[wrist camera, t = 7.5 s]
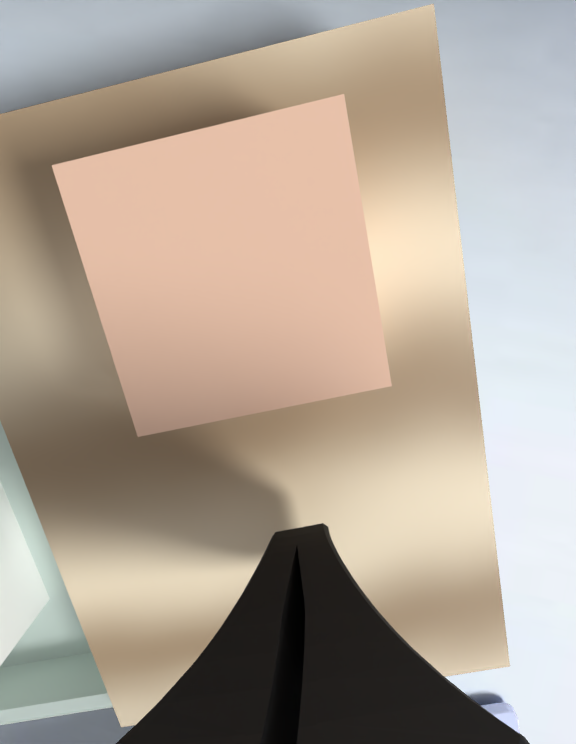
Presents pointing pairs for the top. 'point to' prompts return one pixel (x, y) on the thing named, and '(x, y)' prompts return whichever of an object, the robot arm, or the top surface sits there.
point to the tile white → (16, 581)
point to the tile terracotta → (231, 266)
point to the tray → (45, 630)
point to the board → (265, 429)
